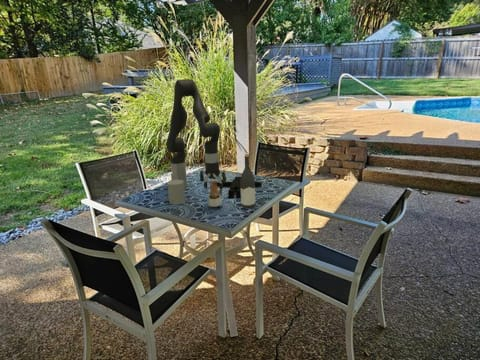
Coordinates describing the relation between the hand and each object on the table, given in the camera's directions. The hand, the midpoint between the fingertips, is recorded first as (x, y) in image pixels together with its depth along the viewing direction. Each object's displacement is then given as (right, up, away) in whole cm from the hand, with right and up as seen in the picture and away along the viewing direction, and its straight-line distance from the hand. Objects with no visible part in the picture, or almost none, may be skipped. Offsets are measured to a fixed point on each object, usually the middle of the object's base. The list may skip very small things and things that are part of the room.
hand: (213, 188), depth 175 cm
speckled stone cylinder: (-23, -8, +14) cm, 28 cm away
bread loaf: (0, -8, +2) cm, 8 cm away
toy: (+13, -2, +30) cm, 33 cm away
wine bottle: (+19, -10, +5) cm, 22 cm away
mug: (+1, -10, +6) cm, 11 cm away
